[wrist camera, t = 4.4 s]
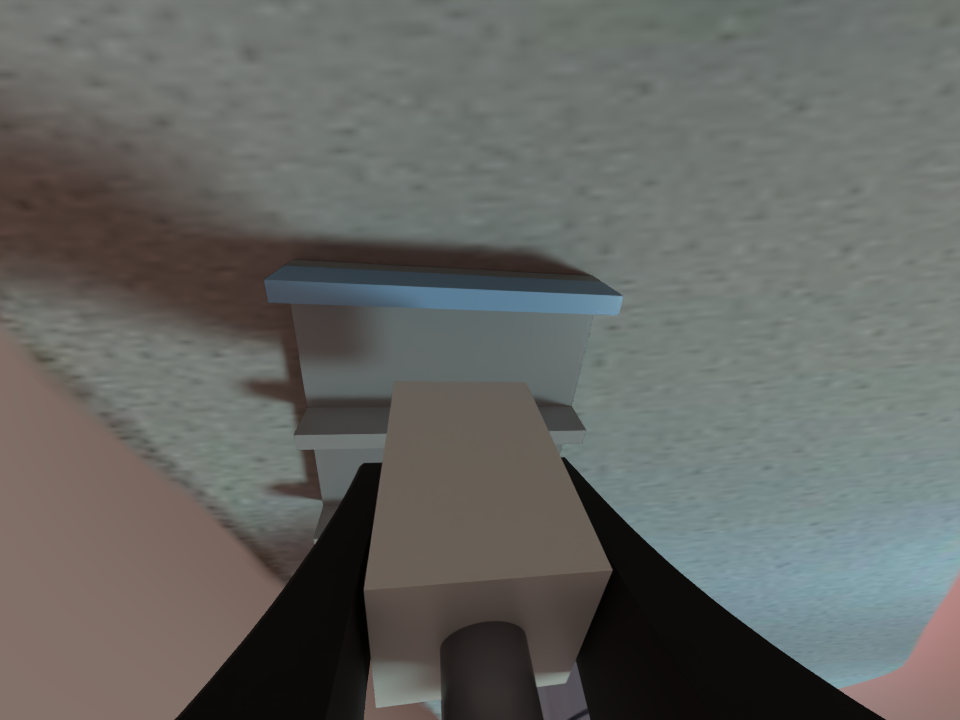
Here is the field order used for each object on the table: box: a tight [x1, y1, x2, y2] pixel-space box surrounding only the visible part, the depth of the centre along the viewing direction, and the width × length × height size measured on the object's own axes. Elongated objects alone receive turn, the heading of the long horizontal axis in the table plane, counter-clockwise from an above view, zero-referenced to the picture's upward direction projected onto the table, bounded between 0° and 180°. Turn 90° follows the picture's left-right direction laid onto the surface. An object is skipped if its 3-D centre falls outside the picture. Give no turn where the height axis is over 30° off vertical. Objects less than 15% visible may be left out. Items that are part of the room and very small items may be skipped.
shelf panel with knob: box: [264, 260, 623, 545], centre depth 18 cm, size 14×13×3 cm
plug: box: [364, 381, 613, 720], centre depth 9 cm, size 4×4×8 cm
